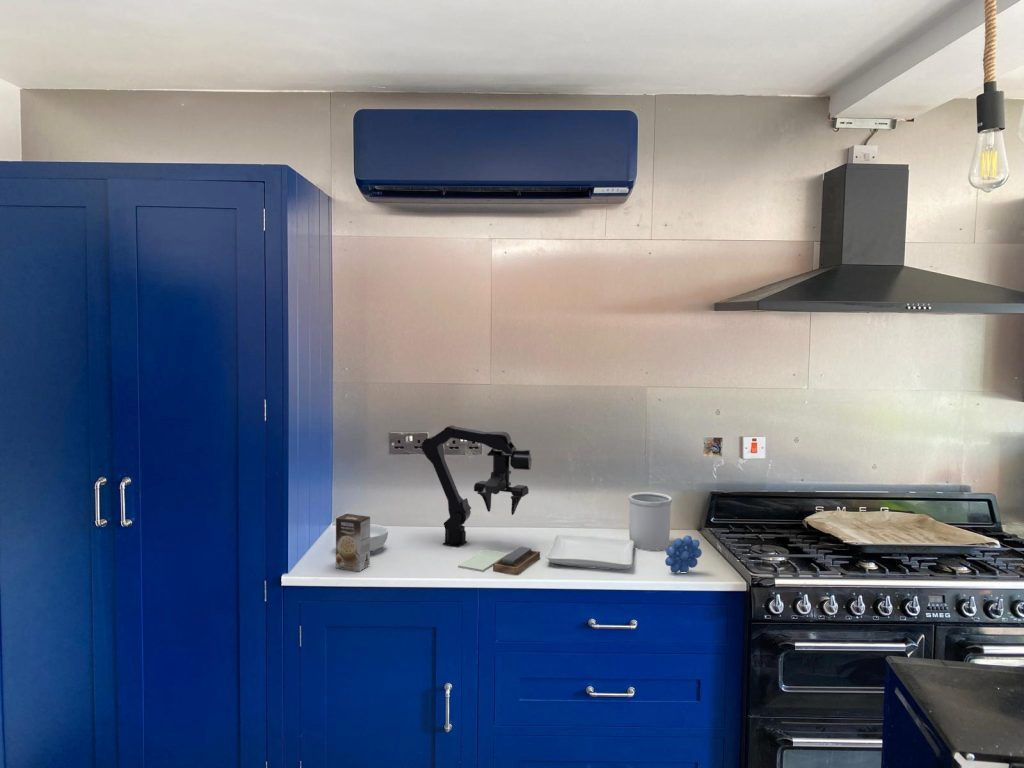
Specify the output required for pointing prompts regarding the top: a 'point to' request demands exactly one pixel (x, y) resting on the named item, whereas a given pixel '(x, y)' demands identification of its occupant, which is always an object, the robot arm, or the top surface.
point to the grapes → (683, 554)
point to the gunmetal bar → (517, 557)
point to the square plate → (591, 552)
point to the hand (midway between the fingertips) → (500, 513)
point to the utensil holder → (649, 520)
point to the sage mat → (482, 560)
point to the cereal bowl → (377, 536)
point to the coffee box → (352, 542)
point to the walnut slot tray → (516, 570)
